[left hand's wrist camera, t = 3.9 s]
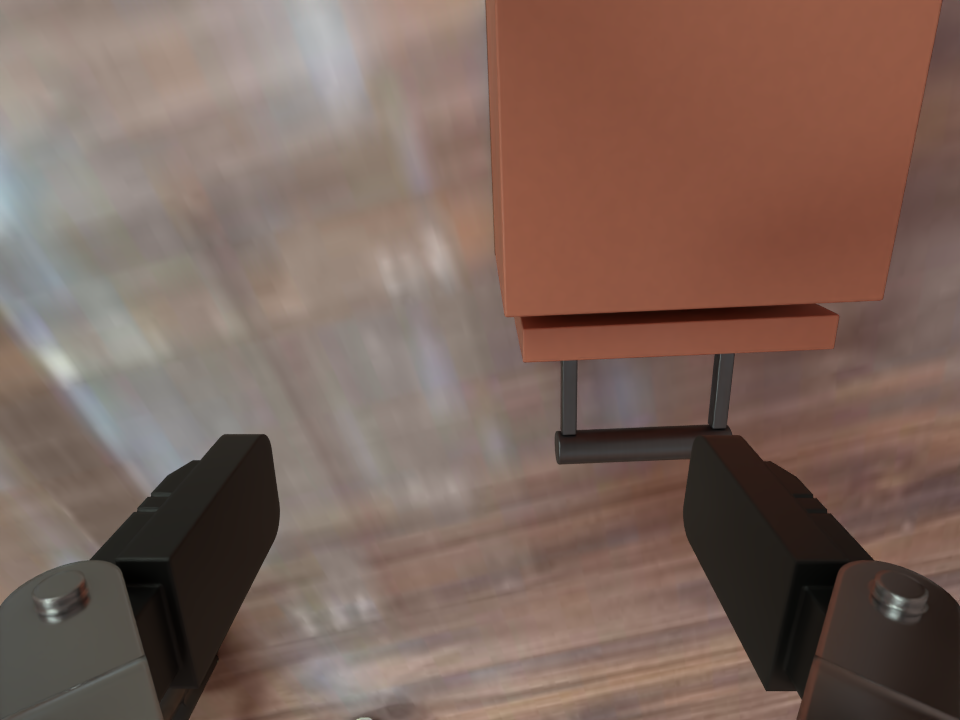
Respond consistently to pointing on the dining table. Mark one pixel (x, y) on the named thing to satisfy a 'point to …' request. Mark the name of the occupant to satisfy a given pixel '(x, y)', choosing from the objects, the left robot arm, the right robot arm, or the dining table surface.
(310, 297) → the dining table surface
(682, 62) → the cabinet
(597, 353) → the drawer
